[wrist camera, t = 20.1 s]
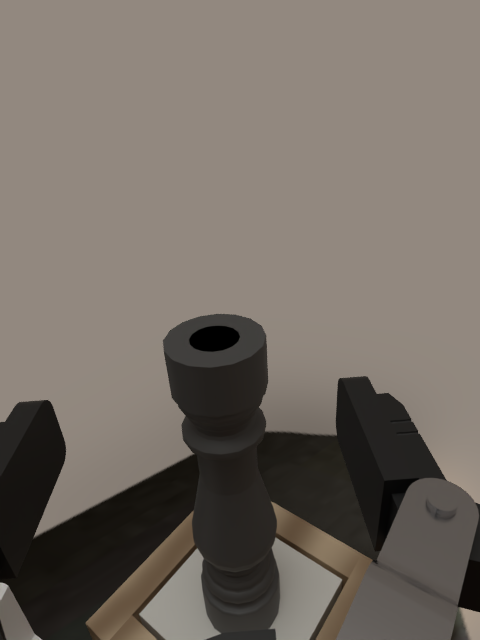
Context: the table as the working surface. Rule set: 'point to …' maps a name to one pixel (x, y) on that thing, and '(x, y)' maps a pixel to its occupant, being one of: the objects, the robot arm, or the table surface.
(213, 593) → the candle holder
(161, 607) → the platform
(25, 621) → the cylinder with rectangular tab
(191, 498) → the table surface
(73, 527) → the table surface
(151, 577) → the stand
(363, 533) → the table surface
